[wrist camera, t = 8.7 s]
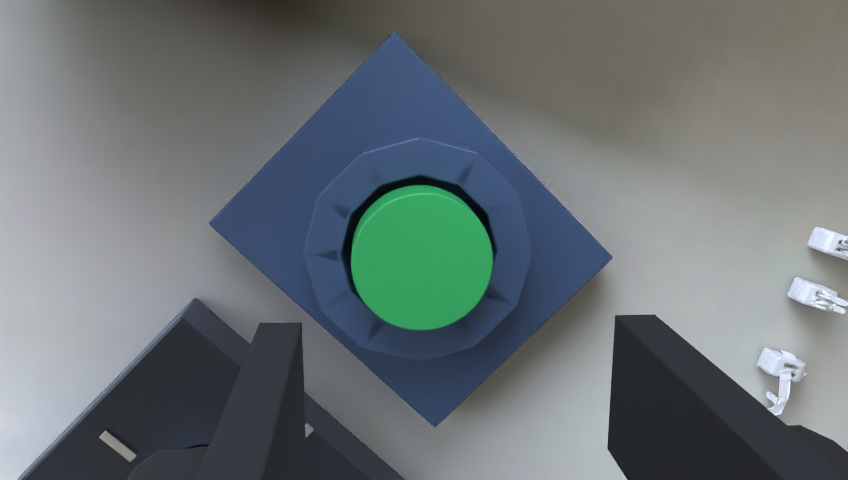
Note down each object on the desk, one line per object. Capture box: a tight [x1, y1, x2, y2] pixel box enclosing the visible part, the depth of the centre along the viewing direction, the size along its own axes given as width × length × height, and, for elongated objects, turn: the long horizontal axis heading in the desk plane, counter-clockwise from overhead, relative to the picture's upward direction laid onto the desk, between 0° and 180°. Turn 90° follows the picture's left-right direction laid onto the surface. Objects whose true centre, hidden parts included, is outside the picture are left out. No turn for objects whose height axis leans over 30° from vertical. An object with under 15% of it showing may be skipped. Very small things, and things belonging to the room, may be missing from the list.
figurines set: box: [757, 227, 848, 415], centre depth 30 cm, size 12×3×3 cm, turn 162°
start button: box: [351, 185, 493, 331], centre depth 24 cm, size 4×4×2 cm
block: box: [209, 32, 612, 427], centre depth 27 cm, size 11×9×4 cm
